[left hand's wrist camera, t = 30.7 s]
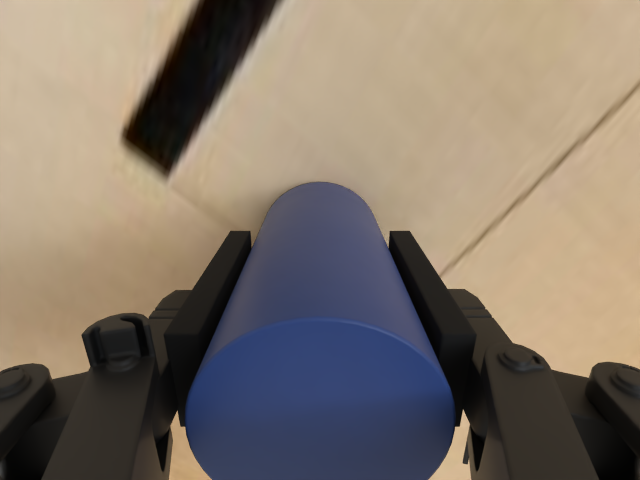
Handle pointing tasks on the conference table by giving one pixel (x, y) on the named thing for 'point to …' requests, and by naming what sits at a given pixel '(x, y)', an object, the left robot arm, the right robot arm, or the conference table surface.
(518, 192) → the conference table surface
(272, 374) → the canister
